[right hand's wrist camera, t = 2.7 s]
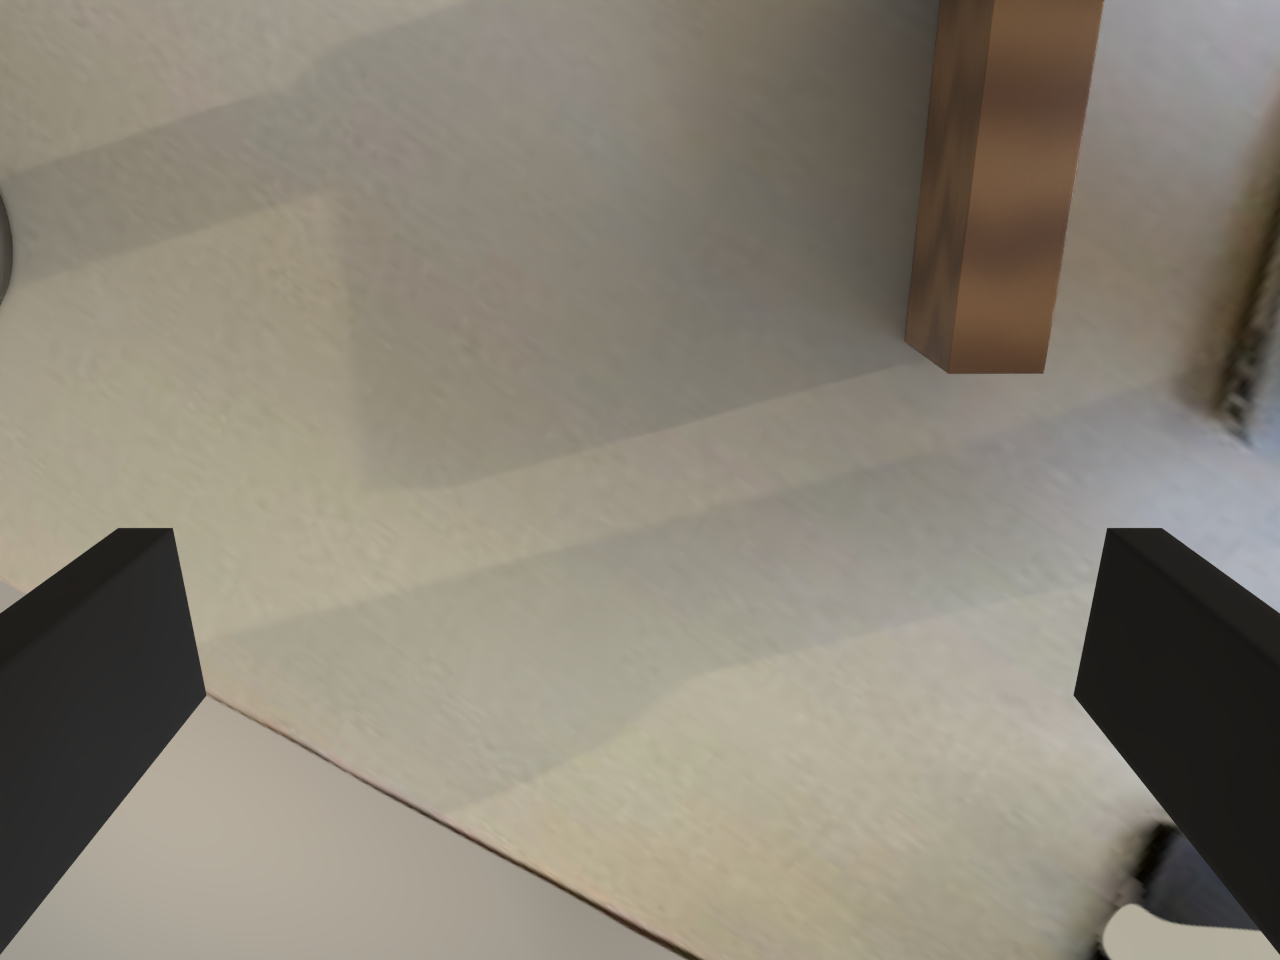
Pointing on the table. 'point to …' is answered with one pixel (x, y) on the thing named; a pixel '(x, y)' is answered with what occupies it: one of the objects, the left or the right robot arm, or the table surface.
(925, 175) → the bar
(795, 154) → the table surface
